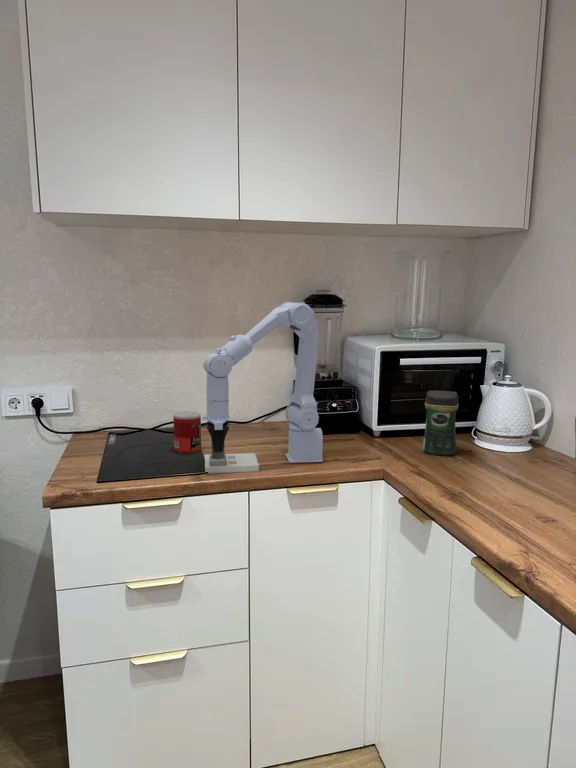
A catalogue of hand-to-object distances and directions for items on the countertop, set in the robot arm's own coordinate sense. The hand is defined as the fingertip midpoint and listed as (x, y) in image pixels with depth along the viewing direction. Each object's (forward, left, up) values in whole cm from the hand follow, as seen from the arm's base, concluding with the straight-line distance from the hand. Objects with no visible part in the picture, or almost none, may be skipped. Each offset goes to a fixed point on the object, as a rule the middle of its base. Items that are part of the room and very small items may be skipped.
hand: (218, 449), depth 152 cm
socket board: (-4, -3, -5) cm, 7 cm away
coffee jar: (-66, -9, -6) cm, 66 cm away
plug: (0, 0, -2) cm, 2 cm away
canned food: (+8, -19, -6) cm, 21 cm away
